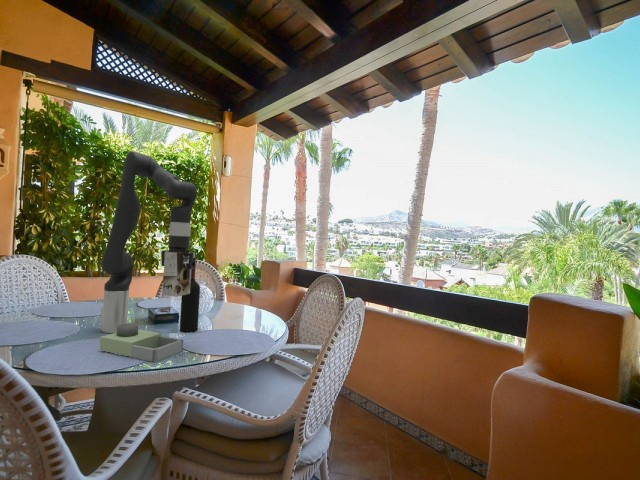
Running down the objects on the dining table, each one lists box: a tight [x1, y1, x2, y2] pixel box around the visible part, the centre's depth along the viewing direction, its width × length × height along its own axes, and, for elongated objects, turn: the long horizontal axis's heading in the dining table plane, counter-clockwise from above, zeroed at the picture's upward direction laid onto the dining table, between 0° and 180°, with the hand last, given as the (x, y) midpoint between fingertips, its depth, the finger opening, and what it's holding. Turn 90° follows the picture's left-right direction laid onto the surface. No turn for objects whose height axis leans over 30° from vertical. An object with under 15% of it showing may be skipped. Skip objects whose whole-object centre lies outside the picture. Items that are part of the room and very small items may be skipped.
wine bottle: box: [179, 263, 201, 334], centre depth 165 cm, size 8×8×30 cm
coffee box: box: [161, 251, 193, 298], centre depth 140 cm, size 9×6×16 cm
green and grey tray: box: [99, 323, 184, 363], centre depth 134 cm, size 24×14×8 cm, turn 71°
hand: (177, 279), depth 140 cm, fingers closed on coffee box, 7 cm apart
